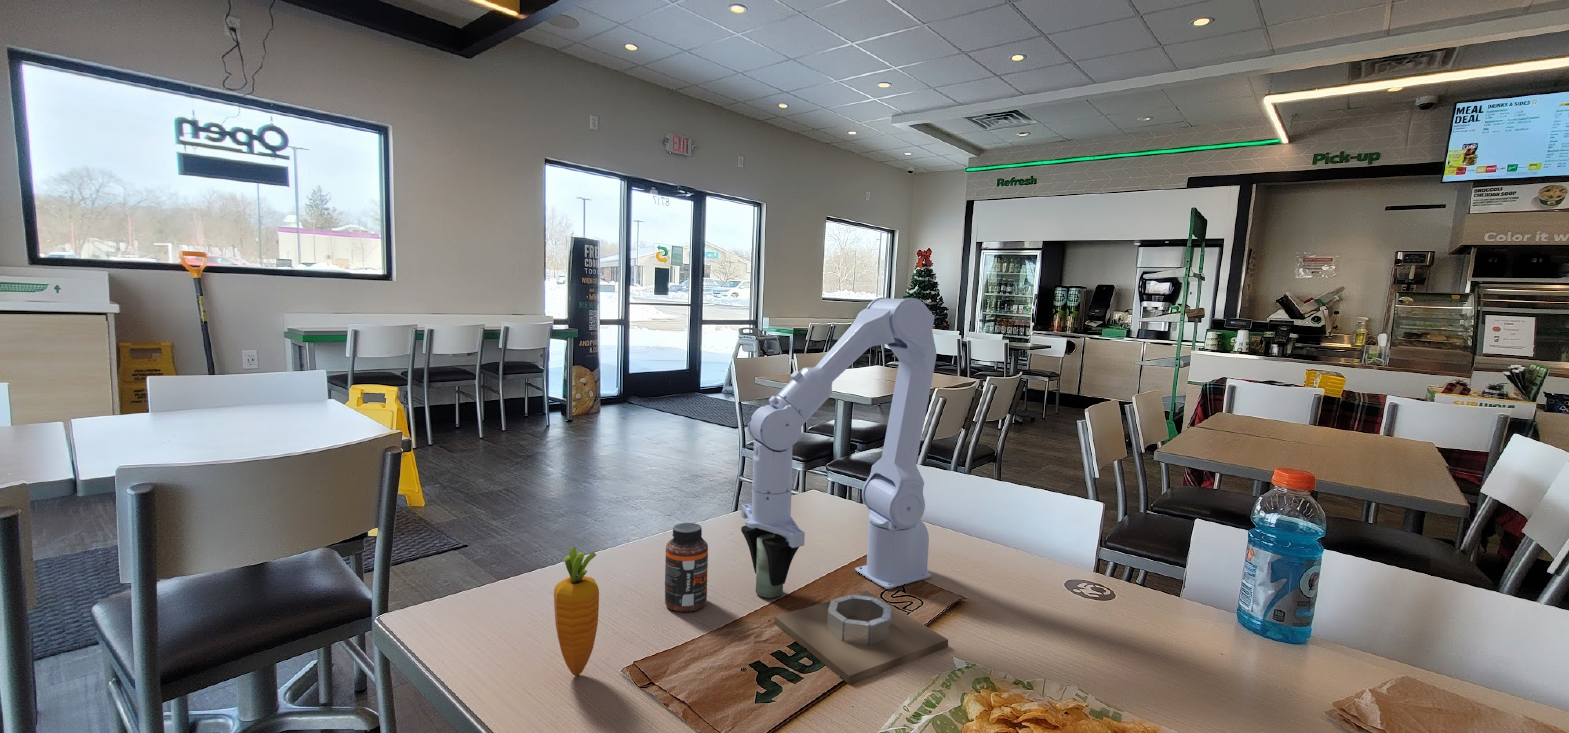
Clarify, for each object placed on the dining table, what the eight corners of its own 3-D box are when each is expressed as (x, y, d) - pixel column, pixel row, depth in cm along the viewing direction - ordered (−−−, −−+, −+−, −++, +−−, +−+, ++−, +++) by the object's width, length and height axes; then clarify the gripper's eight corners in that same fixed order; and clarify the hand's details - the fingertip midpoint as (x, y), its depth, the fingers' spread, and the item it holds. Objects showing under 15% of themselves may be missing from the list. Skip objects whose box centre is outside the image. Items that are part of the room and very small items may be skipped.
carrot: (560, 664, 77) (559, 540, 75) (603, 663, 77) (603, 540, 75) (548, 689, 72) (547, 558, 70) (594, 688, 72) (594, 557, 71)
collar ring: (863, 608, 91) (863, 590, 90) (903, 633, 84) (903, 615, 84) (816, 622, 86) (817, 604, 86) (854, 650, 80) (855, 630, 79)
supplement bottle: (699, 616, 89) (700, 536, 88) (658, 611, 90) (658, 532, 89) (712, 597, 95) (713, 521, 94) (673, 592, 96) (674, 518, 95)
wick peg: (773, 583, 99) (775, 532, 98) (788, 593, 96) (789, 541, 95) (750, 589, 97) (752, 537, 96) (764, 599, 94) (766, 546, 93)
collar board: (866, 596, 96) (866, 590, 96) (947, 647, 83) (948, 639, 83) (774, 623, 88) (774, 616, 87) (848, 684, 74) (849, 676, 74)
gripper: (724, 479, 99) (722, 565, 100) (775, 506, 87) (772, 604, 88) (764, 473, 102) (762, 557, 104) (818, 499, 90) (815, 592, 92)
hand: (769, 578), depth 96 cm, fingers closed on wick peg, 4 cm apart
